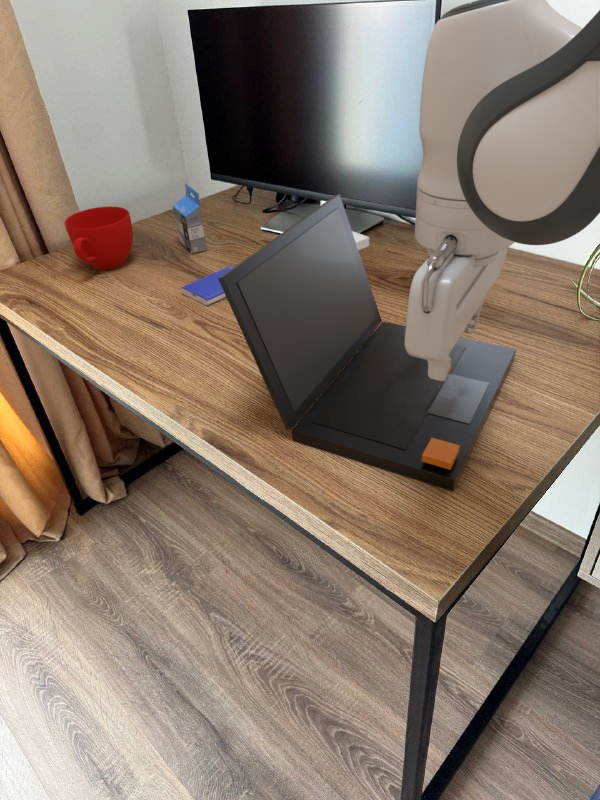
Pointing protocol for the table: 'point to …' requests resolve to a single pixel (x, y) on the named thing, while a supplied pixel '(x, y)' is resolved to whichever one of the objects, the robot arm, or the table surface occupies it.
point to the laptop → (406, 405)
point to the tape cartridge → (190, 222)
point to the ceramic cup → (101, 236)
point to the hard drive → (206, 288)
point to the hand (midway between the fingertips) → (453, 351)
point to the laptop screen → (303, 307)
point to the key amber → (440, 453)
